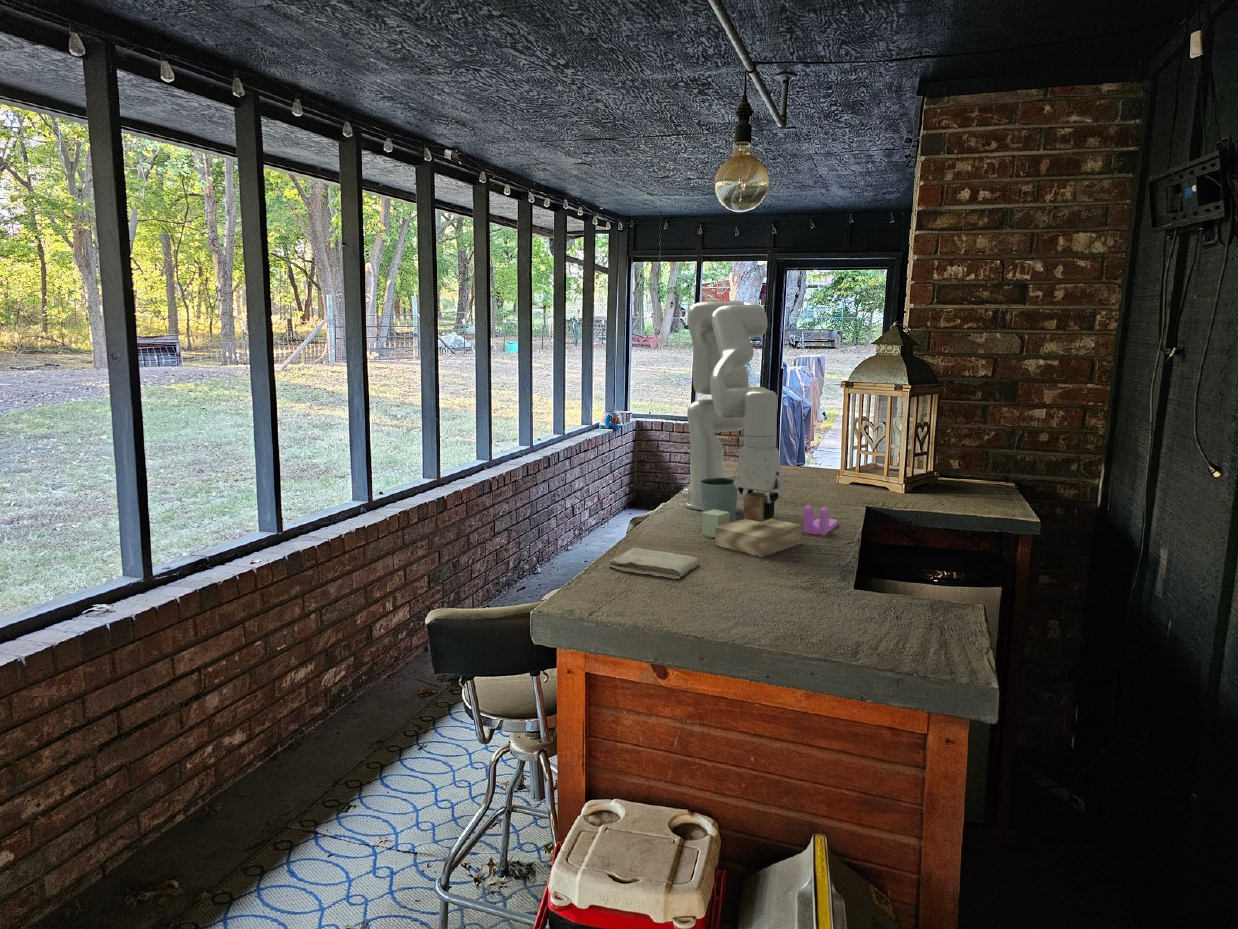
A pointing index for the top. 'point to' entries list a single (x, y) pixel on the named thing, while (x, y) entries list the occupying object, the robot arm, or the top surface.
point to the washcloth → (655, 561)
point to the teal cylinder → (719, 495)
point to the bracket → (818, 521)
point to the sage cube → (713, 521)
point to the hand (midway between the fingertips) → (758, 515)
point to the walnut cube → (754, 506)
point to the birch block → (758, 536)
